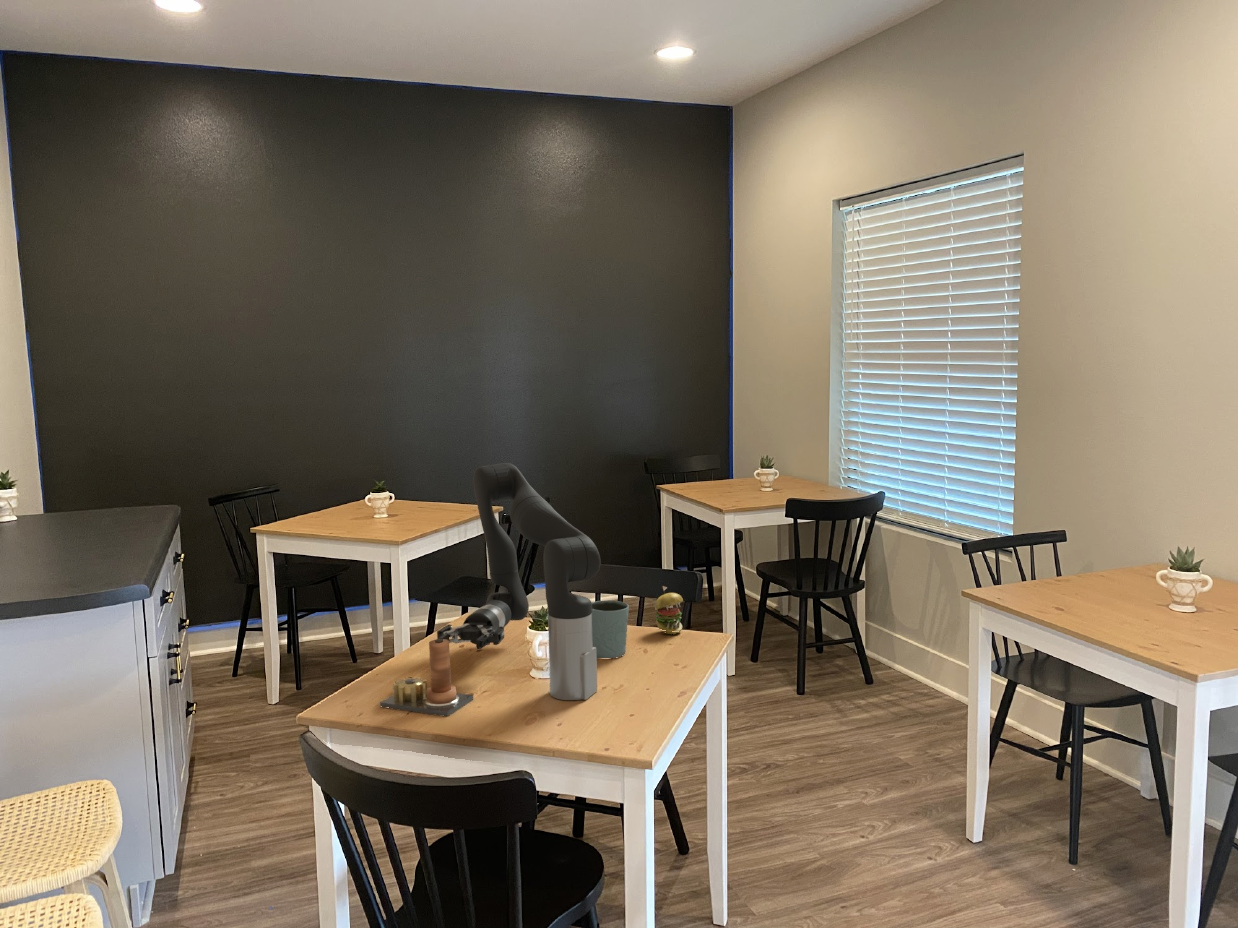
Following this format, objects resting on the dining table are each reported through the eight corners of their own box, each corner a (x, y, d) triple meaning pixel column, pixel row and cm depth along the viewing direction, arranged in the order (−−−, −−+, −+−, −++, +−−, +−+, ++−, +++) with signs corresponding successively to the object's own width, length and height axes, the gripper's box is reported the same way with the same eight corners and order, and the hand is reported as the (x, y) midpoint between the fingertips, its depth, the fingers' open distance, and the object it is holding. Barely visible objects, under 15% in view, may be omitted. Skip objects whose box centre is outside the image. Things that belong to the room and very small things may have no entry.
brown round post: (462, 695, 189) (459, 637, 187) (446, 705, 183) (443, 645, 182) (437, 692, 191) (434, 634, 190) (420, 702, 185) (418, 642, 184)
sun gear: (433, 692, 192) (433, 677, 191) (415, 703, 185) (414, 687, 185) (406, 689, 194) (405, 673, 194) (387, 700, 188) (386, 684, 188)
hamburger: (668, 638, 232) (668, 591, 231) (648, 632, 237) (648, 587, 236) (689, 632, 237) (688, 586, 236) (669, 626, 242) (668, 582, 241)
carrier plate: (473, 699, 190) (473, 693, 190) (447, 716, 181) (447, 710, 181) (408, 691, 196) (408, 685, 196) (380, 707, 187) (380, 700, 187)
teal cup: (589, 647, 225) (588, 600, 224) (630, 647, 225) (629, 599, 223) (586, 660, 215) (585, 610, 214) (629, 660, 214) (628, 610, 213)
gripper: (455, 607, 213) (427, 625, 198) (513, 609, 211) (490, 628, 195) (456, 638, 214) (428, 659, 198) (514, 640, 211) (491, 662, 196)
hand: (459, 644), depth 197 cm, fingers open, 8 cm apart
